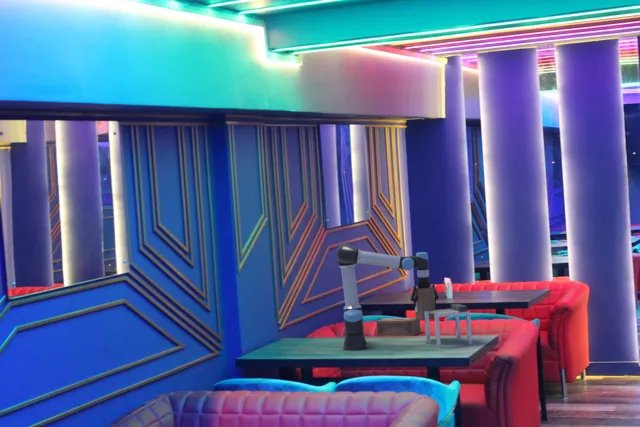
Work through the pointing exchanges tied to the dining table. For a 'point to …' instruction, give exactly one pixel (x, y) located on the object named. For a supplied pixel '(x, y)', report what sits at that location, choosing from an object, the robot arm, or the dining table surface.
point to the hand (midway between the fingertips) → (425, 311)
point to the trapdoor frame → (456, 326)
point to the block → (425, 302)
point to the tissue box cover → (398, 327)
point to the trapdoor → (453, 309)
